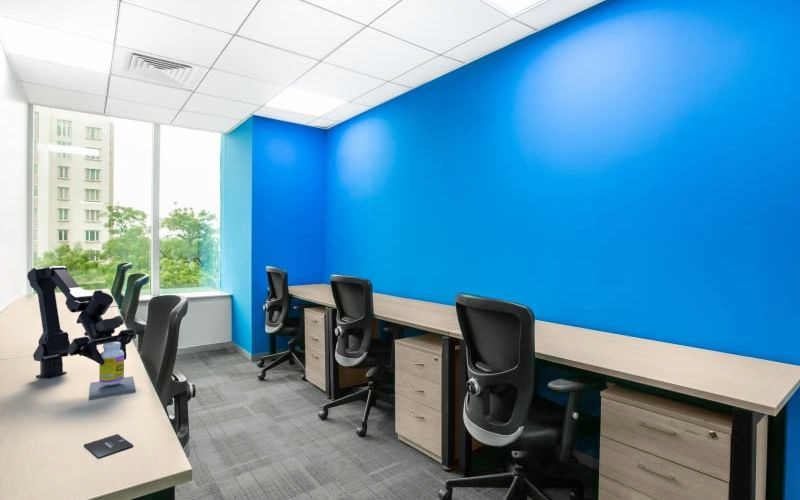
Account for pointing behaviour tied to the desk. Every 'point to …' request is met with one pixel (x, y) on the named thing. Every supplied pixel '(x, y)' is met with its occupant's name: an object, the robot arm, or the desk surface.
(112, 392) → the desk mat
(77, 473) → the desk surface
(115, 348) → the supplement bottle
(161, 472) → the desk surface
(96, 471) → the desk surface
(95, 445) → the solid state drive
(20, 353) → the desk surface
